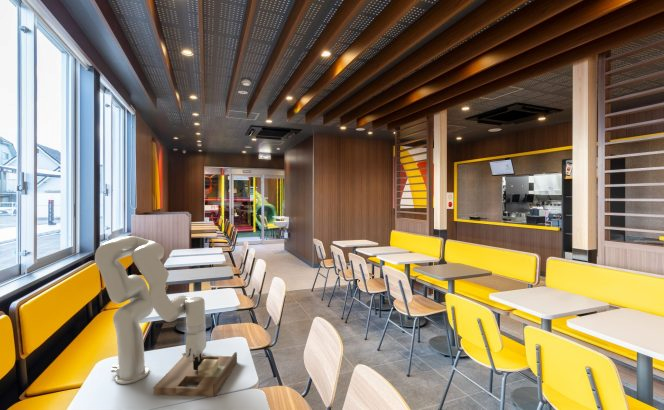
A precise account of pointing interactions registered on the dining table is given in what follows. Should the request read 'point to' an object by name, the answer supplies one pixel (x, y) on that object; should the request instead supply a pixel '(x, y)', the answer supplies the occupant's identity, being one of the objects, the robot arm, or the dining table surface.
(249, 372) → the dining table surface
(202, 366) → the maple block
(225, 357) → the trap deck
